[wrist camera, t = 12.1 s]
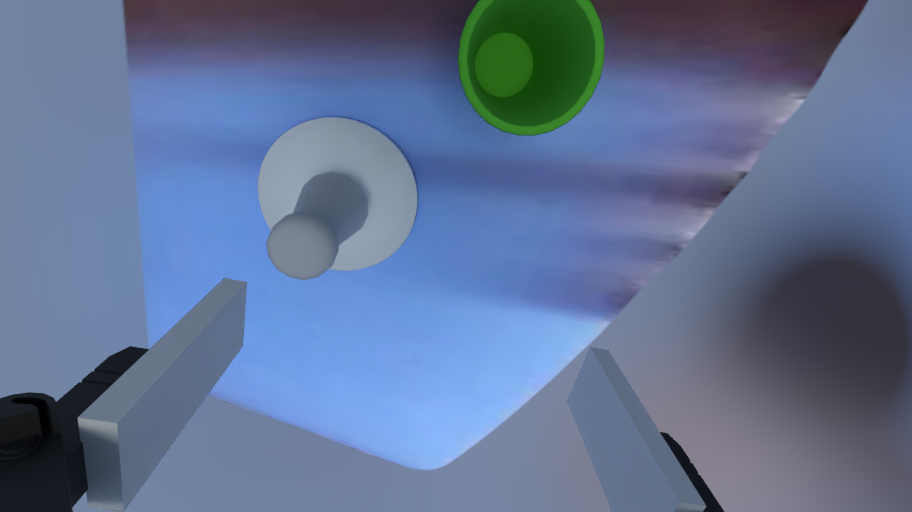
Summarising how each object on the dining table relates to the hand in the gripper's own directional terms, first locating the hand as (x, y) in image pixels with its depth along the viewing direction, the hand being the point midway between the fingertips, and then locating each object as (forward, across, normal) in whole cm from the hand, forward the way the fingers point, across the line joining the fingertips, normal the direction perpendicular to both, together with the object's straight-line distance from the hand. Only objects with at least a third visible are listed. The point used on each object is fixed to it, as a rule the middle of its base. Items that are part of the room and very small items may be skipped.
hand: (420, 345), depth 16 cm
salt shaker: (+24, -8, -3) cm, 25 cm away
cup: (+26, +4, +12) cm, 28 cm away
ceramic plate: (+25, -8, -3) cm, 26 cm away
